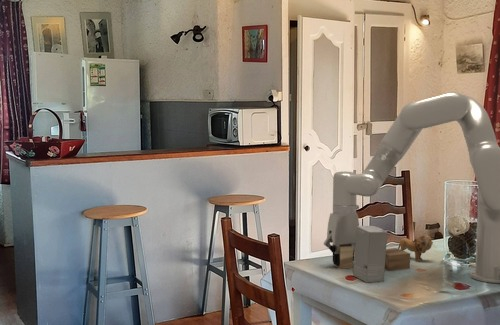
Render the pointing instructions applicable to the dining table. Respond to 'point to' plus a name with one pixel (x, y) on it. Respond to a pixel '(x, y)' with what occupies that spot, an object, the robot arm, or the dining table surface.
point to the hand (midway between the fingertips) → (343, 263)
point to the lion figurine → (416, 246)
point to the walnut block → (397, 259)
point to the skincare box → (370, 253)
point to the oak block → (345, 256)
